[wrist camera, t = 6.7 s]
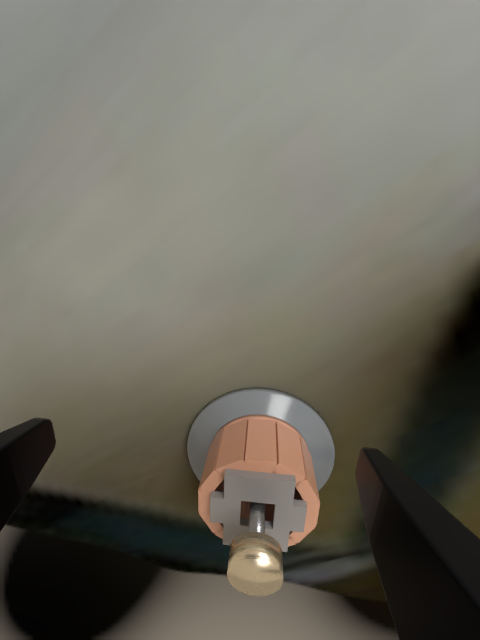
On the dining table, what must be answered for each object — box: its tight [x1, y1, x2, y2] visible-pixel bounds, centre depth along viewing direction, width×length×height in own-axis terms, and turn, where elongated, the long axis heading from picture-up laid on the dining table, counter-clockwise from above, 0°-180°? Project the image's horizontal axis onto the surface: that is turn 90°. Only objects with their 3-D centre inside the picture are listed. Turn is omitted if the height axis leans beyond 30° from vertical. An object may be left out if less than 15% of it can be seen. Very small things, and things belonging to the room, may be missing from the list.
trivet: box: [187, 388, 335, 491], centre depth 24 cm, size 12×12×1 cm
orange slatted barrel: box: [198, 414, 320, 552], centre depth 22 cm, size 10×8×5 cm
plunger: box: [227, 502, 283, 596], centre depth 19 cm, size 5×5×8 cm
